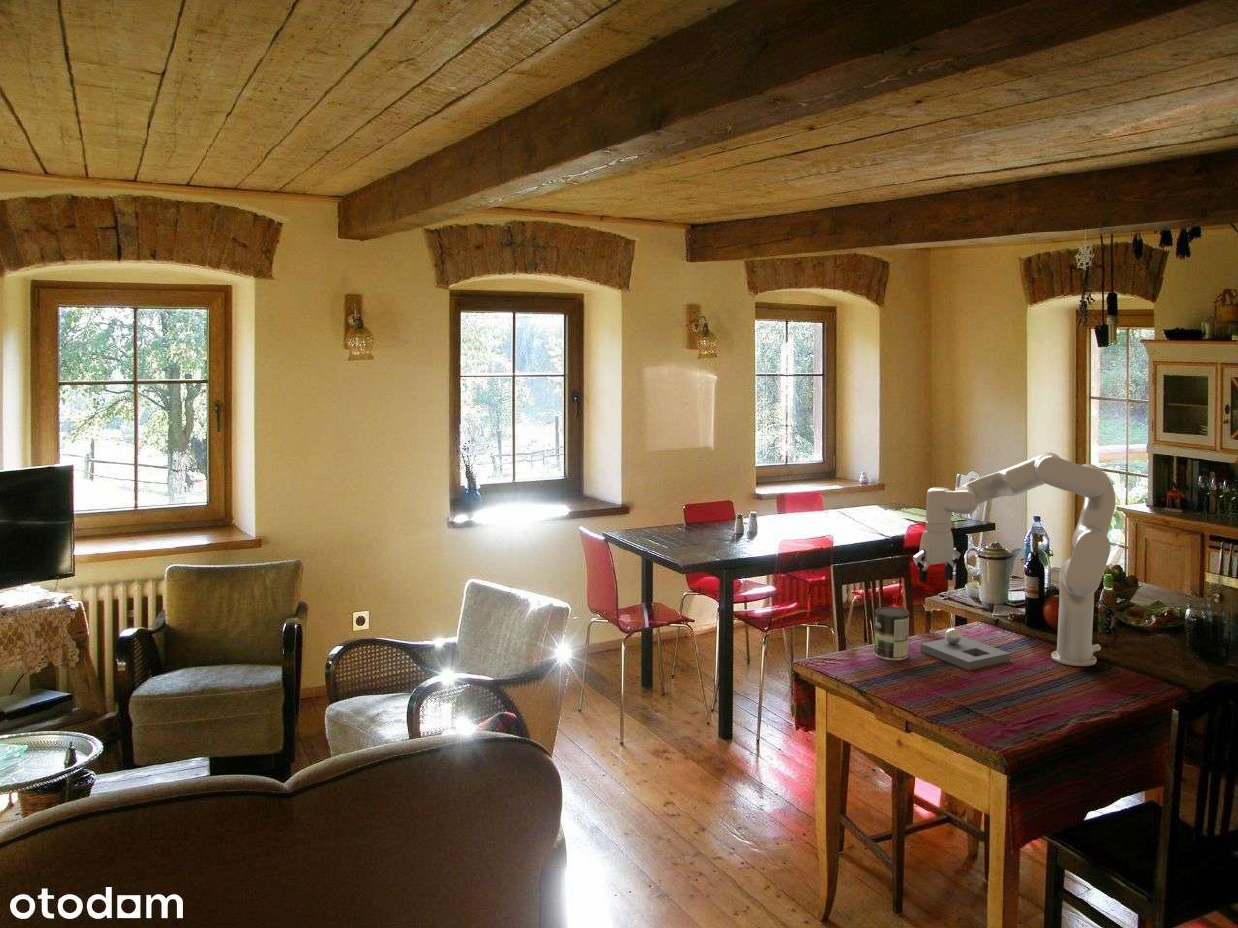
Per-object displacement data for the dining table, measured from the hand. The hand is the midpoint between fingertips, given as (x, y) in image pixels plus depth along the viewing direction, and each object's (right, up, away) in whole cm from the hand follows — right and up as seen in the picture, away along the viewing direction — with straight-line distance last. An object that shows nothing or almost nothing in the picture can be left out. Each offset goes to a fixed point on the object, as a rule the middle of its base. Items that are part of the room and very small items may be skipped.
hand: (935, 580), depth 316 cm
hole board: (+7, -23, -5) cm, 24 cm away
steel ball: (+5, -17, -1) cm, 18 cm away
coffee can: (-15, -23, -3) cm, 27 cm away
